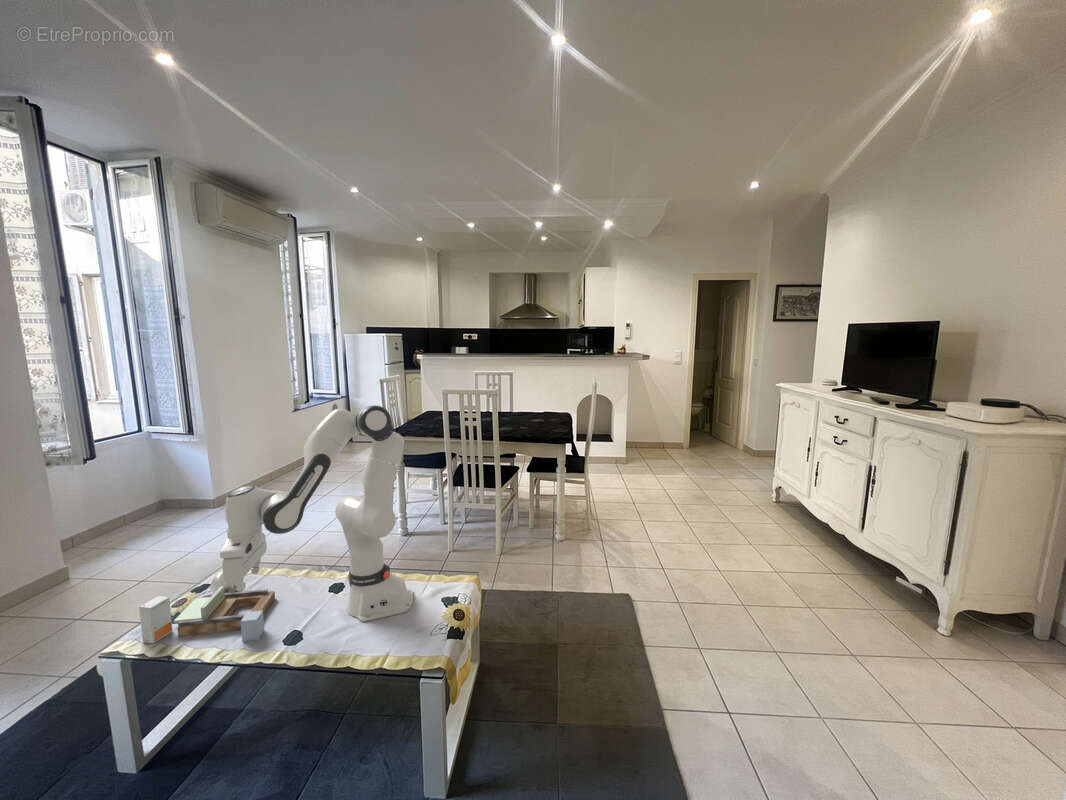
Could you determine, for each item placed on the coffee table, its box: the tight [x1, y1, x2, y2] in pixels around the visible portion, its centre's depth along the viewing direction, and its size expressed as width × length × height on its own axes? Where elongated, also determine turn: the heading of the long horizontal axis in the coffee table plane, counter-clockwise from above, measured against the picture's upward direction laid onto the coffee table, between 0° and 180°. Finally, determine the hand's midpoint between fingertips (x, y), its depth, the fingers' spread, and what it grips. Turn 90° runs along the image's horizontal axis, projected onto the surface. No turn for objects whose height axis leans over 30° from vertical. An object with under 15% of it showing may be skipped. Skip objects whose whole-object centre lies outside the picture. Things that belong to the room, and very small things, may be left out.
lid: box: [173, 586, 225, 624], centre depth 139 cm, size 9×12×4 cm
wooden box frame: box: [177, 588, 276, 637], centre depth 142 cm, size 22×16×4 cm
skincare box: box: [138, 595, 173, 645], centre depth 131 cm, size 6×4×12 cm
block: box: [240, 611, 265, 643], centre depth 132 cm, size 4×4×7 cm
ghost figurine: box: [210, 571, 237, 594], centre depth 153 cm, size 9×10×10 cm
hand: (248, 580), depth 130 cm, fingers open, 8 cm apart
